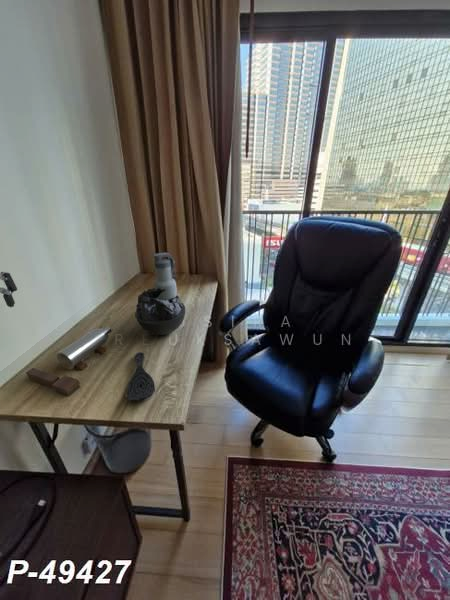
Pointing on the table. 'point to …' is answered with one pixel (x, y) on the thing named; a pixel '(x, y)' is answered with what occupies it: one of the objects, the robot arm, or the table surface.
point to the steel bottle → (84, 349)
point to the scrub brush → (54, 381)
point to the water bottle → (165, 275)
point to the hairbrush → (140, 382)
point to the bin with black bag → (159, 312)
